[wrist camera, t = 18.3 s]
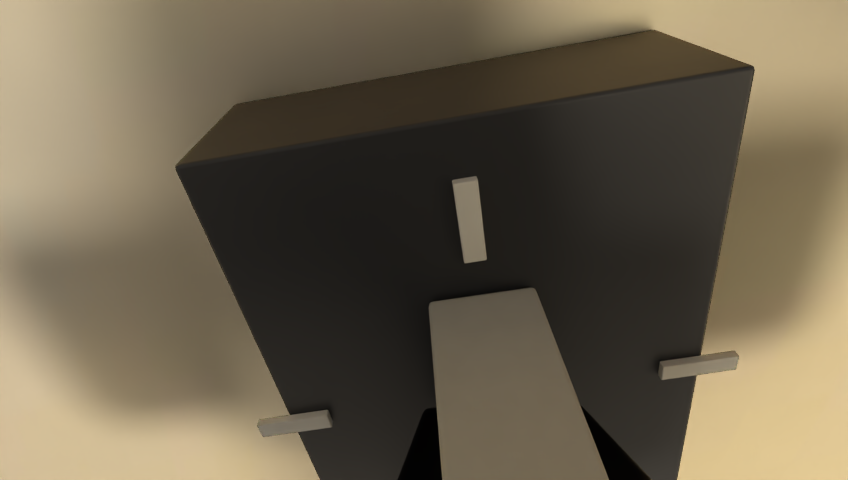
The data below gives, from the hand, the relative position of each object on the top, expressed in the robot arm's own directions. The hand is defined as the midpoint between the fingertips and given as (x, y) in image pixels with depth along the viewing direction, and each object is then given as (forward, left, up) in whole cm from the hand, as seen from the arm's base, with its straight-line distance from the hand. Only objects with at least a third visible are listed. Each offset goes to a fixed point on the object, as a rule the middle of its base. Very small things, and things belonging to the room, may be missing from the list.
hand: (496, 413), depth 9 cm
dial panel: (0, 0, -4) cm, 4 cm away
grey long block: (0, 0, 0) cm, 0 cm away
